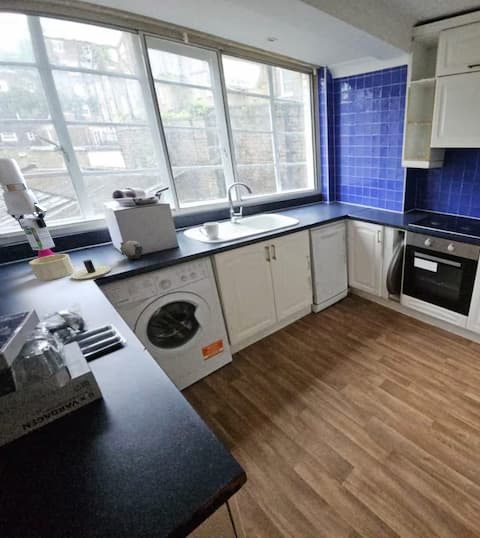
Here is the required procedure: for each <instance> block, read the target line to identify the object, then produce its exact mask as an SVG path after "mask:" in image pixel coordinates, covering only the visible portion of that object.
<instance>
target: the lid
mask: <svg viewBox="0 0 480 538" xmlns="http://www.w3.org/2000/svg"><path fill="white" fill-rule="evenodd" d="M82 263H83V265H84V267H85V269H82V270H80V271H78V272H74V273H73V275H71V278H72V279H73V280H86V279H92V278H96V277H100V276H103V275H105V274H108V273H109V272H110V271H111V270H112V267H111V266H105V265H104V266H95V265H94V263H93V261H92V259H85V260H83V261H82Z"/></svg>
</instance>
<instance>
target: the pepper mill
mask: <svg viewBox="0 0 480 538" xmlns="http://www.w3.org/2000/svg"><path fill="white" fill-rule="evenodd" d="M37 251H38V255H37V258H41V257H45V256H50V255H56V253H55V252H53V251H52V250H51V248H49V249H45V250H37Z"/></svg>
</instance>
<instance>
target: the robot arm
mask: <svg viewBox="0 0 480 538" xmlns="http://www.w3.org/2000/svg"><path fill="white" fill-rule="evenodd" d="M0 189H2V190H3V192H2V197H3V200H4V204H5V206H6V208H7V210H6V214H7V215H9V216H11V217H12V219H13V218H14V219H15V221H17V222H18V225H19V226H20V228H21V230H23V228H22V226H21V224H20V221H19V220H20V219H24V218H25V216H27V215H32V217H35V218H36V219H37V220H36V222H37V224H38V227H39V228H44V227H47V223H46V221H45V216H46V215H47V211H48V210H47V208H44V207H42V206H41V205H40V203H39V201H38V199H37V197H36V196H35V195H34V193H33V191H32V190H30V188H29V186H28V184H27V182H26V180H25V177H24V176H23V173H22V170H21V169H20V167H19V164H18V162H17V160H16V159H14V158H12V157H0ZM47 228H48V227H47Z"/></svg>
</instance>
